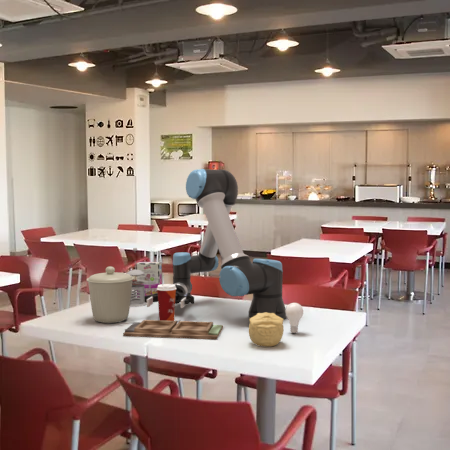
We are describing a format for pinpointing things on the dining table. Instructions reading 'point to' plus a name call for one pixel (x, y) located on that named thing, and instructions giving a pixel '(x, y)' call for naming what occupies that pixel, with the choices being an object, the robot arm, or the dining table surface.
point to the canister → (110, 295)
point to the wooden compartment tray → (174, 329)
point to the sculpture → (266, 329)
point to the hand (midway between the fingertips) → (164, 303)
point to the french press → (137, 288)
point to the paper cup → (166, 301)
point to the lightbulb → (294, 316)
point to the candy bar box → (150, 276)
